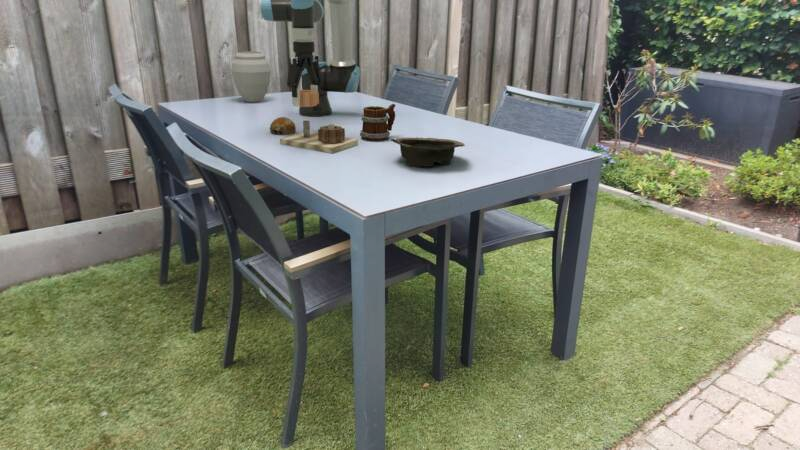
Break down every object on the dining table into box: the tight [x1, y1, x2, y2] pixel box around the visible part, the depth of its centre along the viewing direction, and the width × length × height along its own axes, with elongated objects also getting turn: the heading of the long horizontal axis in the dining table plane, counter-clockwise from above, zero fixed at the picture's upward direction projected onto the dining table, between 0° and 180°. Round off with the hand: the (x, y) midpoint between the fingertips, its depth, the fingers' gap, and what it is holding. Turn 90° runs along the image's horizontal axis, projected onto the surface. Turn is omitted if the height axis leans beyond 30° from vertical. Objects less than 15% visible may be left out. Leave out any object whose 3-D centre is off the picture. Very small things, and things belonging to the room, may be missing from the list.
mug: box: [359, 103, 396, 142], centre depth 220 cm, size 12×14×15 cm
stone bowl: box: [390, 136, 466, 168], centre depth 191 cm, size 25×25×9 cm
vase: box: [230, 50, 272, 103], centre depth 287 cm, size 20×20×24 cm
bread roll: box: [269, 116, 297, 136], centre depth 227 cm, size 10×10×8 cm
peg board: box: [279, 120, 359, 155], centre depth 209 cm, size 24×16×8 cm, turn 60°
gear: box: [291, 89, 319, 108], centre depth 207 cm, size 10×10×5 cm
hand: (305, 104), depth 208 cm, fingers closed on gear, 10 cm apart
